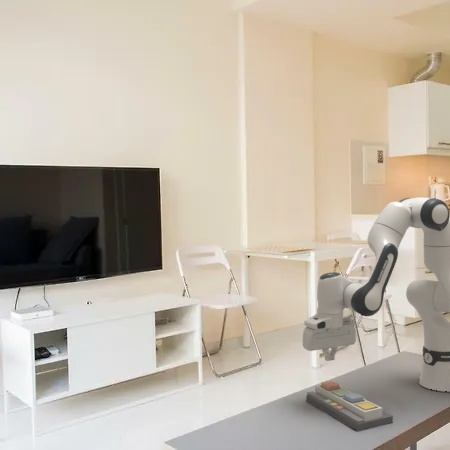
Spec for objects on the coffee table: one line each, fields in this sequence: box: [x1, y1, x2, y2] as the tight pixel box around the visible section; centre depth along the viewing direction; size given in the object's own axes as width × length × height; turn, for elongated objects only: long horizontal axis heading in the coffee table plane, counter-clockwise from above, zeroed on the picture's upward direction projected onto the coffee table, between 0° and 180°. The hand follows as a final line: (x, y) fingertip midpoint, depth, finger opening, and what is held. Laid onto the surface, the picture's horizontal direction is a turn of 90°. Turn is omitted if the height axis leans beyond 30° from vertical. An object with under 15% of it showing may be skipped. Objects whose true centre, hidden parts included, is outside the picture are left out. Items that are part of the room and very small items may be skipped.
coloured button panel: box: [305, 384, 394, 432], centre depth 178 cm, size 14×27×5 cm, turn 26°
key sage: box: [332, 390, 348, 397], centre depth 181 cm, size 4×4×2 cm
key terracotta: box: [320, 380, 340, 391], centre depth 186 cm, size 4×4×2 cm
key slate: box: [344, 391, 364, 404], centre depth 175 cm, size 4×4×2 cm
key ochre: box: [356, 402, 376, 411], centre depth 170 cm, size 4×4×2 cm
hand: (329, 360), depth 186 cm, fingers closed
